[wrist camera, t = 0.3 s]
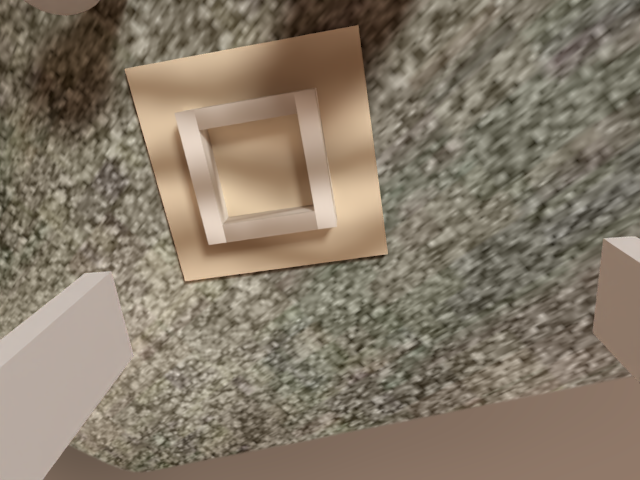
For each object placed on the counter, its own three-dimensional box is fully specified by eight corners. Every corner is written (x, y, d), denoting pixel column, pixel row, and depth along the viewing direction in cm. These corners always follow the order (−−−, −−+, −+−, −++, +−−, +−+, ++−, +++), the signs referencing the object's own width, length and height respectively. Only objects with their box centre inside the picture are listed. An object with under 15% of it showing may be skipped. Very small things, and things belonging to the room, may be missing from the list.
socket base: (127, 68, 37) (111, 68, 34) (358, 25, 35) (358, 22, 32) (187, 278, 43) (176, 292, 40) (387, 251, 41) (389, 264, 38)
